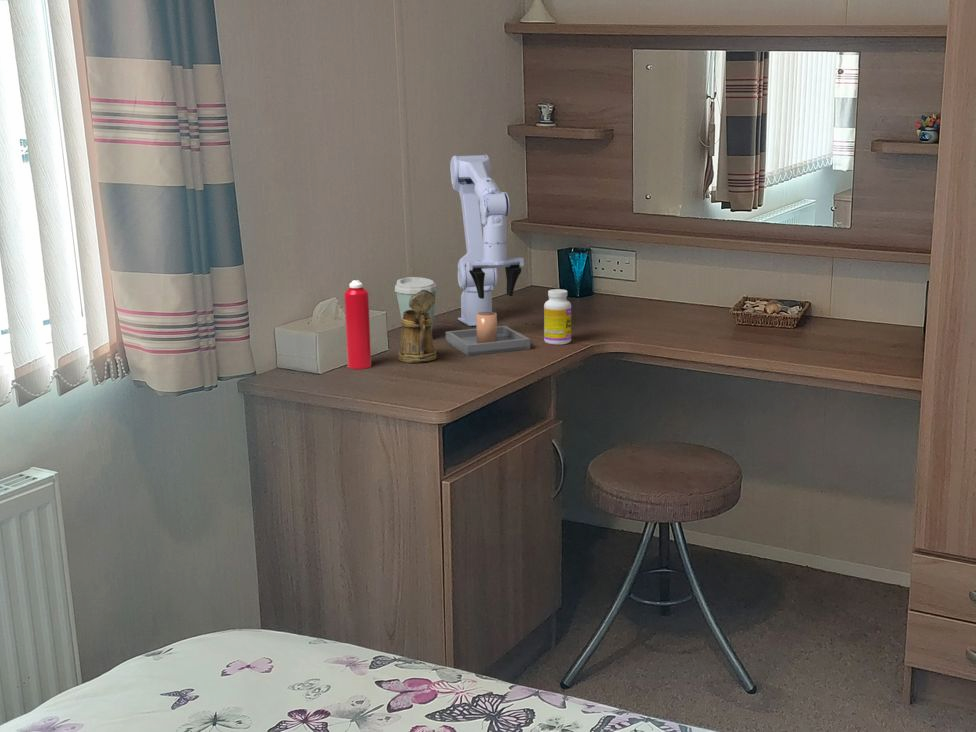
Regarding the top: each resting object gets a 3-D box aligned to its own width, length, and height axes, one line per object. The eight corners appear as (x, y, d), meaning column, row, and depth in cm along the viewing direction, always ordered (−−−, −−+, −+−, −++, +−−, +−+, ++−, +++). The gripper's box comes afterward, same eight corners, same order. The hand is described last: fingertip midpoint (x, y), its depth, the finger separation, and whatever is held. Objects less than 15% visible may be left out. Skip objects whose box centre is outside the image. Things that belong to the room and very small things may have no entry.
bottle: (376, 366, 269) (372, 279, 264) (357, 370, 266) (353, 283, 261) (361, 362, 273) (358, 277, 268) (342, 366, 270) (338, 280, 265)
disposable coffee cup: (447, 338, 295) (446, 279, 292) (416, 346, 288) (415, 285, 284) (417, 332, 302) (416, 274, 299) (387, 339, 295) (385, 280, 291)
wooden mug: (406, 369, 266) (404, 291, 261) (394, 356, 278) (391, 281, 274) (445, 366, 268) (443, 288, 264) (430, 352, 281) (428, 278, 276)
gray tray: (445, 341, 292) (445, 331, 291) (505, 335, 297) (505, 325, 297) (467, 355, 277) (467, 345, 277) (530, 349, 283) (530, 339, 282)
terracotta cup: (474, 340, 289) (474, 312, 288) (494, 339, 290) (494, 311, 289) (478, 344, 285) (478, 316, 283) (499, 343, 286) (498, 315, 284)
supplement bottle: (569, 345, 286) (569, 293, 283) (542, 344, 287) (542, 293, 284) (572, 339, 292) (573, 288, 289) (546, 338, 293) (546, 288, 290)
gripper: (472, 246, 283) (473, 302, 287) (528, 242, 288) (528, 297, 292) (462, 242, 290) (464, 296, 293) (517, 238, 295) (517, 292, 298)
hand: (495, 296), depth 293 cm, fingers open, 7 cm apart
